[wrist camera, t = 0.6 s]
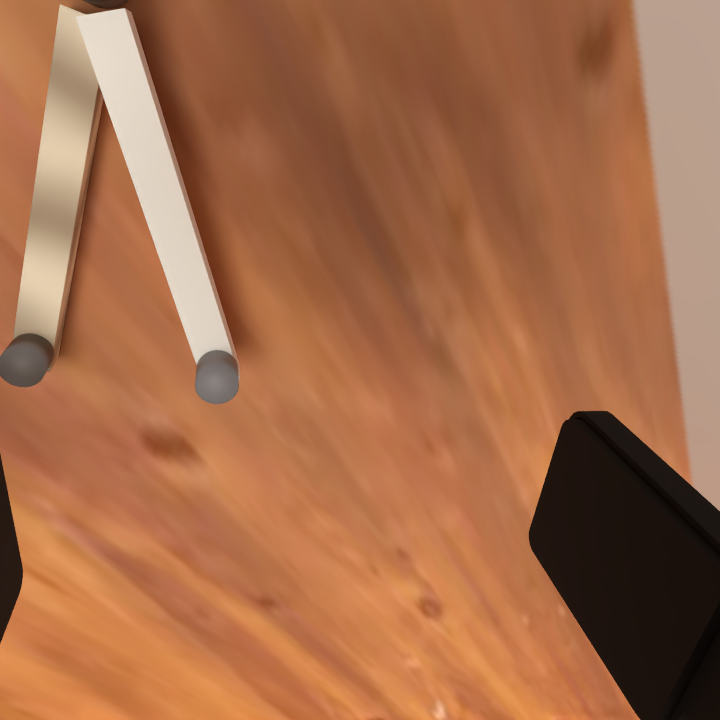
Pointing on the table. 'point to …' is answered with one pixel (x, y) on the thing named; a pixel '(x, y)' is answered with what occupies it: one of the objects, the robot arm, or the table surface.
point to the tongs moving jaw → (162, 196)
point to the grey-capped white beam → (56, 203)
